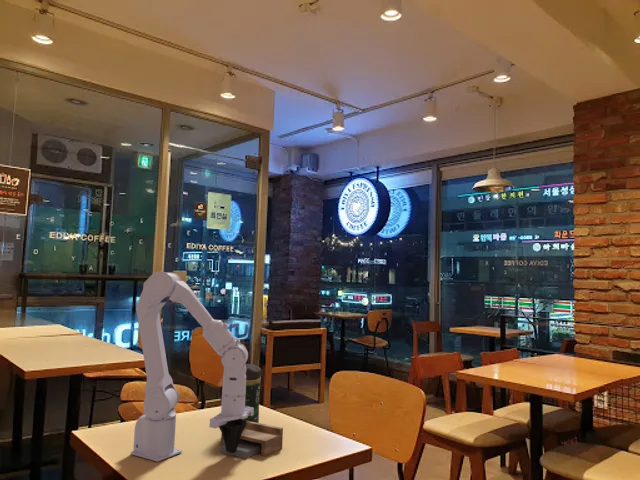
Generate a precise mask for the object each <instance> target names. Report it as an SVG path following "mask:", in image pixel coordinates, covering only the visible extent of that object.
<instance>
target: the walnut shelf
mask: <svg viewBox="0 0 640 480" xmlns="http://www.w3.org/2000/svg"><path fill="white" fill-rule="evenodd" d="M245 421H246V420H245ZM283 431H284V428H283V427H280V426H275V425H271V424H265V423H260V422H259V423H256V422H251V421H247V425H246V426H245V428H244V430H243V432H242V434H241V437H240V439H244V440H248V441H253V442H257V443H261V444H262V450H261V452H260V455H261V456H262V457H267V456H269V455H270V454H273V453H275V452H277V451H279V450H281V449H283V441H284V440H283V439H284V438H283V433H284V432H283ZM220 435H221V437H220V438H221V439H220V447H221V446H222V445H224V444H225V442H224V438H223V435H222V432H221V434H220Z"/></svg>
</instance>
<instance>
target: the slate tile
mask: <svg viewBox="0 0 640 480" xmlns="http://www.w3.org/2000/svg"><path fill="white" fill-rule="evenodd" d="M261 450H262V444H261V443H257V442H253V441H248V440H244V439H240V440H239V443H238V447H237V450H236V452H234V453H230V452H226V447H225V444H224V445H222V446H221V445H220V453H223V454H227V455H231V456H235V457H238V458H242V459H248V458H250V457H253V456H254V455H257V454H259V453H261Z"/></svg>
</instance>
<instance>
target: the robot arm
mask: <svg viewBox="0 0 640 480" xmlns="http://www.w3.org/2000/svg"><path fill="white" fill-rule="evenodd" d="M142 287H143V288H142V291H141V294H140V296H139V297H138V298H139V299H138V301H137V302H136V303H137V304H136V309H135V311H136V315H137V323H138V329H139V335H140V342H141V343H140V344H141V347H142V348H141V349H142V355H143V362H144V368H145V373H146V384H145V386H144V400H143V402H142V403H143V404H142V410H143V412H144V414H142V415H141V416H139V417H138V419H137V421H136V422H135V424H134V435H133V448H132V449H133V450H131V451H130V453H129V454H131V455H133V456H136V457H138V458H139V457H140V458H144V459H147V460H150V461H154V462H161V461H164V460H165V459H168V458H171V457H174V456H176V455H179V454H181V453H182V452H183V451H182V450H181V449H179V448H175V444H176V443H175V441H176V423H177V422H176V420H177V413H176V410H175V408H176V406H177V404H178V403H179V399H180V393H179V392H178V390H177V388H176V387H175V385H174V380H173V378H172V376H171V375H170V373H169V368H168V361H167V360H168V359H167V354H166V348H165V343H164V336H163V335H164V334H163V328H162V323H161V317H160V311H161V309H162V308H163V307H164V306H165V305H166V303H167V302H168V301H172V302H175V303H178V304H181V305H182V306H184V308H185V309H186V310H187V311H188V313H190V315H191V316H192V317H193V318H194V319H195V320H196V321H197V323H198V324H199V325H200V326H201V327H202V337H203V338H204V339H205V341H207V342H208V344H209V345H210V347H211V348H212V349H213V350H214V351H215V353H216V354H217V355H218V356H220V357H221V358H220V360H221V364H222V366H223V375H222V387H221V388H222V389H221V406H220V407H221V408H220V409H221V410H220V412H219V413H218V414H216V415H215V416H213V417H211V418H209V428H211V429H218V428H219V430H220V432H221V433H222V435H223V438H224V442H225V447H226V452H230V453H234V452H236V450H237V447H238V443H239V440H240V437H241V434H242V432H243V430H244V428H245V426H246V425H247V421H245V420H242V419H245V418H247V417H248V416H253V415H254V408H253V407H245V394H246V365H245V364H247V362H248V359H249V352H248V349H247V347H246V345H244V344H243V343H241V340H240V338H236V337H235V336H234V334H233V333H232V332H231V331H230V329H229V323H227V322H223V320H220V319H214V318H213V317H212V315H211V314H210V312H209V311H208V309H206V307H205V306H204V305H203V303H202V302H201V301H200V299H199V298H198V297H197V295H196V293H195V292H194V290H192V289H191V287H190V286H189V284H187V283H186V282H185V281H184V280H182V278H181V277H180V276H179V274H177V273H175V272H171V271H170V272H169V271H168V272H165V271H156V272H154V273H152V274H151V275H150V276H149V277H148V278H147V279H146V280H145V281H144V283H143V286H142Z"/></svg>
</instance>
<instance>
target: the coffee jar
mask: <svg viewBox="0 0 640 480" xmlns="http://www.w3.org/2000/svg"><path fill="white" fill-rule="evenodd" d="M245 365H246V394H245V407H253V408H254V415H253V416H248V417H247V418H245V419H242V420H246V421H251V422H256V423H260V421H259V420H260V419H259V415H260V393H261V379H262V376H261V375H262V368H261V367H259V366H258V365H257V364H254V363H253V364H252V363H245Z"/></svg>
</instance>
